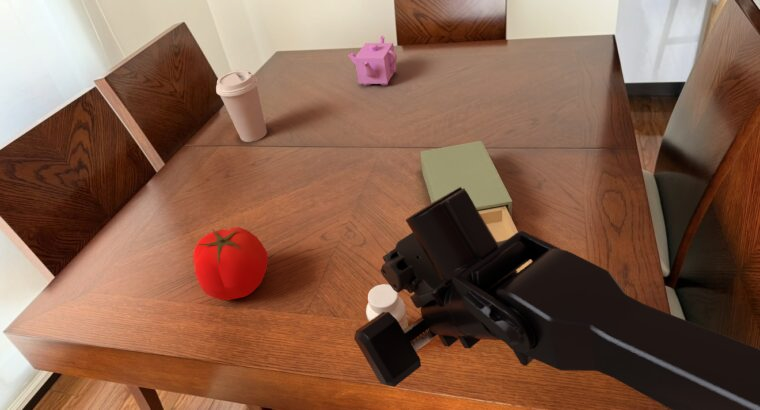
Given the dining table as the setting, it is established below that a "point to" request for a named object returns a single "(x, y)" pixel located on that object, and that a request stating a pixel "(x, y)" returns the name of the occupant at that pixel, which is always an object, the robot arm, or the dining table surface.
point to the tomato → (230, 263)
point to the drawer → (500, 225)
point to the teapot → (375, 62)
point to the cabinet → (465, 175)
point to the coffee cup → (243, 103)
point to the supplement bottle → (386, 304)
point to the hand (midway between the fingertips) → (411, 310)
